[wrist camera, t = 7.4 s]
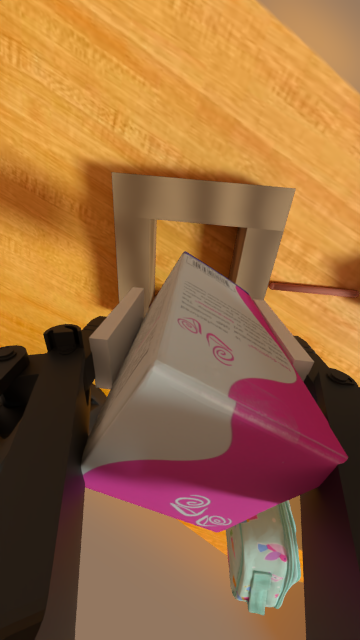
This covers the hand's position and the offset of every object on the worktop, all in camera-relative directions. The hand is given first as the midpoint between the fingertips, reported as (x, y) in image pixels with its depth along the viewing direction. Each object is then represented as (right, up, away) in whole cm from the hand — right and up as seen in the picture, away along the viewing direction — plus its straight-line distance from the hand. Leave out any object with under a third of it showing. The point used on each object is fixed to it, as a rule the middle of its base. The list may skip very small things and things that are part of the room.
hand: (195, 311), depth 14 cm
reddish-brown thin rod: (+18, +4, +16) cm, 25 cm away
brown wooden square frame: (+1, +8, +15) cm, 17 cm away
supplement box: (0, +1, +1) cm, 1 cm away
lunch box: (+14, -35, +36) cm, 52 cm away
